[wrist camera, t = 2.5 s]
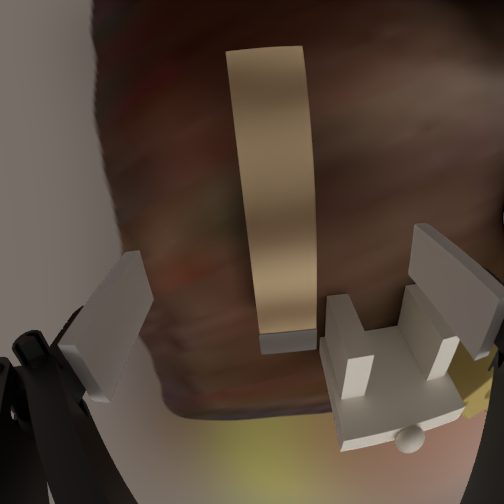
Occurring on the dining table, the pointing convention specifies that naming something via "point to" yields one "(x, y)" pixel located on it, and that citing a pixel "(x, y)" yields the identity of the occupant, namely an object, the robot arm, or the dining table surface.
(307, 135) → the rail
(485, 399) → the cheese
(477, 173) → the dining table surface
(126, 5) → the dining table surface
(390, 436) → the white u-channel bracket
